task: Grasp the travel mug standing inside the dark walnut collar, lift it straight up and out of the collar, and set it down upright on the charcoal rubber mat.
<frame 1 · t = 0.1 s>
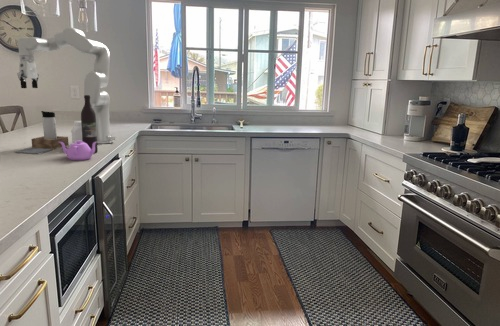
hand: (29, 88, 222), 31 cm above the countertop, tool pointing down, fingers open, 9 cm apart
jar: (83, 148, 204), on the countertop
wine bottle: (90, 152, 193), on the countertop
teapot: (79, 158, 178), on the countertop
collar: (50, 146, 205), on the countertop
travel mug: (51, 146, 205), resting in collar
mat: (34, 151, 190), on the countertop
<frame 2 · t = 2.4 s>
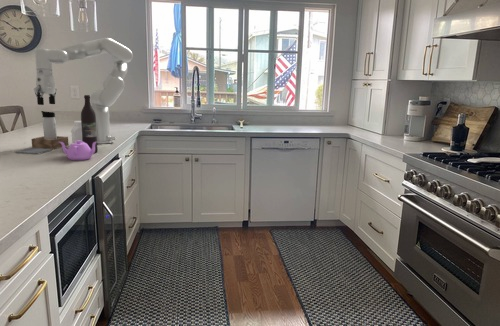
hand: (46, 104, 200), 24 cm above the countertop, tool pointing down, fingers open, 9 cm apart
nothing on the countertop moved.
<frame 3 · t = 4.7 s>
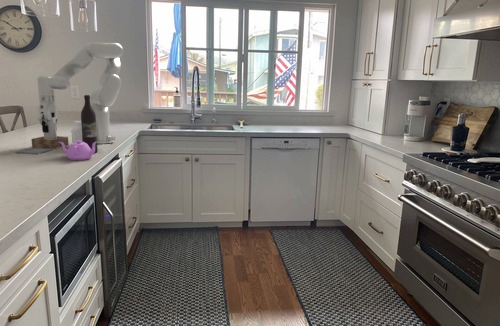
hand: (49, 131, 203), 9 cm above the countertop, tool pointing down, fingers closed on travel mug, 6 cm apart
travel mug: (51, 146, 205), resting in collar, touching gripper
everything else where it was.
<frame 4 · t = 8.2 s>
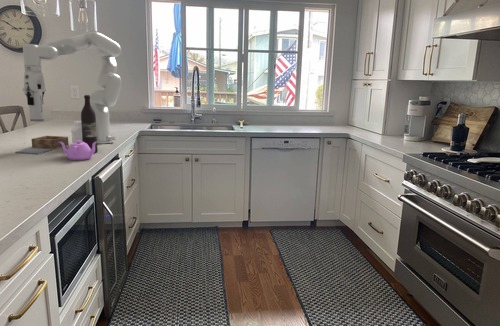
hand: (35, 104, 190), 24 cm above the countertop, tool pointing down, fingers closed on travel mug, 6 cm apart
travel mug: (36, 121, 192), point 15 cm above the countertop, touching gripper
everything else where it was.
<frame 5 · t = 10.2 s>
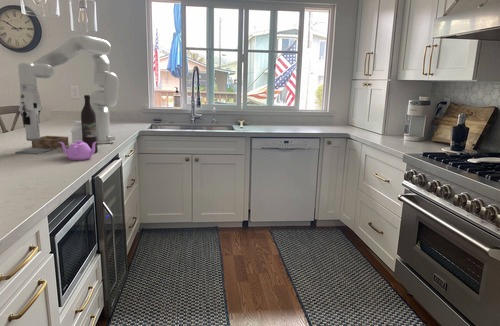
hand: (31, 123, 187), 15 cm above the countertop, tool pointing down, fingers closed on travel mug, 6 cm apart
travel mug: (33, 140, 189), point 6 cm above the countertop, touching gripper
everything else where it was.
when the fingers open (11 cm above the countertop, at t = 11.9 s): travel mug drops 1 cm, resting on mat.
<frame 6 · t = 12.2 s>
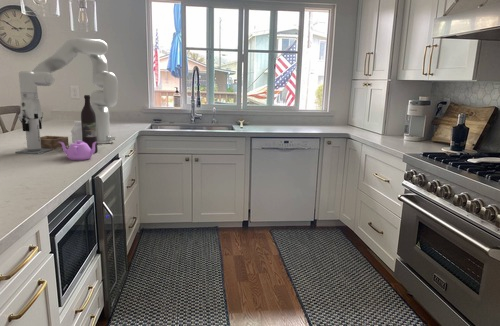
hand: (32, 130, 188), 11 cm above the countertop, tool pointing down, fingers open, 9 cm apart
travel mug: (34, 150, 190), resting on mat
everything else where it was.
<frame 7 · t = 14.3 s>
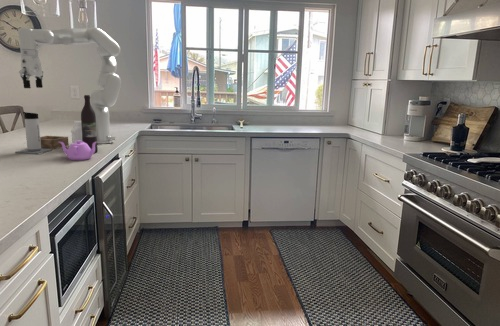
hand: (33, 87, 189), 33 cm above the countertop, tool pointing down, fingers open, 9 cm apart
nothing on the countertop moved.
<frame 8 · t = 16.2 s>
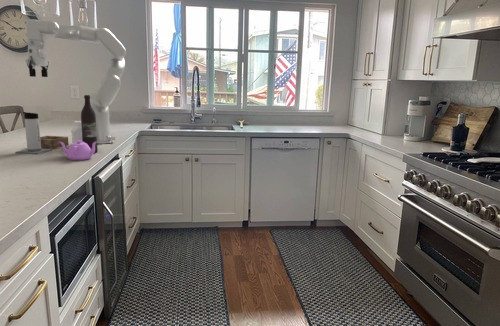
hand: (38, 76, 199), 38 cm above the countertop, tool pointing down, fingers open, 9 cm apart
nothing on the countertop moved.
at the end: travel mug inside the target area on the mat (0.3 cm from its centre), point 0.4 cm above the mat's base; travel mug tilted 0°; the gripper is holding nothing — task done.
